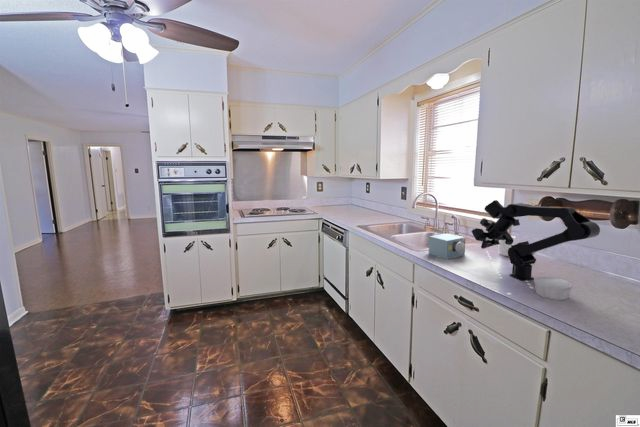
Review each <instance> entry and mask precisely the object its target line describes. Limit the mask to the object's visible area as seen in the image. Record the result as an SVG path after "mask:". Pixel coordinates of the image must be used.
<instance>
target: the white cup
mask: <svg viewBox="0 0 640 427" xmlns="http://www.w3.org/2000/svg"><path fill="white" fill-rule="evenodd" d="M510 236H511V237H512V238H513V243H512V244H511V245H516V239H517V237H516V236H514V235H511V234H510ZM505 242H506V240H499V243H500V244H497V245H498V246H497V247H498V255H501V256H503V257H505V256H506V257H509V256H508V249H509V248H510V247H511V245H507V244H505Z"/></svg>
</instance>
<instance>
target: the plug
mask: <svg viewBox="0 0 640 427" xmlns="http://www.w3.org/2000/svg"><path fill="white" fill-rule="evenodd" d="M453 250H456V252H457V253H463V252H464V250H465V251H466V243H465V244H464V243H463V242H458V243H456V242H453Z"/></svg>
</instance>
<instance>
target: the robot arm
mask: <svg viewBox="0 0 640 427" xmlns="http://www.w3.org/2000/svg"><path fill="white" fill-rule="evenodd" d="M484 211H485V212H486V213H487V214H488V215H489V216H490V217H491V218H492V219H497V220H496V221H494V220H491V219H487V218H481V220H480V221H479V224H480V225H481V226H482V227H484V228H485V231H486V232H485V231H484V230H483V228H478V227H477V228H475V227H474V228H473V229H472V230H471V231H470V232H471V233H472V236H473V237H474V239H475V240H476V241H478V242H481V246H480V247H481V249H483V250H484V249H487V248H490V247H493V246H497V245H498V244H500V243H499V240H506V242H505V244H507V245H511V244H512V243H513V238H512V237H511V236H512V235H511V234H510V233H509V232H508V230H509V229H510V228H511V227H512V226H513V227H518V226H520V225H521V223H520V219H518V217H519V218H520V217H528V216H530V217H532V216H533V217H544V218H545V217H546V218H547V217H549V218H559V219H561V221H562V222H563V224H564V225H565V227H566V229H565V230H563V231H562V232H560V233H556V234H554V235H552V236H548V237H545V238H543V239H539V240H537V241H535V242H531V243H530V242H529V240H527V241H522V242H518V243H515V245H511V247H510V248H509V249H508V256H507V257H508V258H509V262H510V263H511V265H512V267H511V268H512V269H511V273H510V274H509V276H510V277H513V278H514V279H517V280H519V281H528V280H534V278H535V277H533V276H532V271H533V265H535V264H536V262H537V259H536V257H535V256H534V255H535V254H536V253H537V252H539V251H543V250H546V249H549V248H552V247H555V246H558V245H562V244H566V243H569V242H572V241H573V242H575V241H580V240H586V239H590V238H595V237H597V236H599V235H600V232H601V228H600V226H599V225H598V223H596V222H594V221H591V220H590V219H589V218H588V217H587V216H585V215H583V214H581V213H580V212H578V211H577V210H576V209H574V208H573V207H572V206H565V207H563V206H562V207H561V206H536V205H535V206H534V205H530V204H526V203H522V202H519V203H517V202H516V203H510V204H508V205H506V207H504V206H503V204H501V203H500V201H498V200H497V199H496V200H493V201H492V202H490V203H488V204H487V205H485V207H484ZM516 218H517V219H516ZM510 235H511V236H510Z"/></svg>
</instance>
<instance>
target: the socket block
mask: <svg viewBox="0 0 640 427" xmlns="http://www.w3.org/2000/svg"><path fill="white" fill-rule="evenodd" d="M466 239H467V238H466V236H462V235H461V236H460V235H456V234H453V233H448V232H447V233H441V234H434V235H430V236H429V237H428V254H429V255H431V256H435V257H439V258H440V259H444V260H450V259H454V258H458V257H462V256H463V257H464V256H465V255H466V254H465V253H466V249H465V250H464V252H463V253H457V252H456V250H453V242H456V243H458V242H463V243H464V244H465V245H466Z"/></svg>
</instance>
